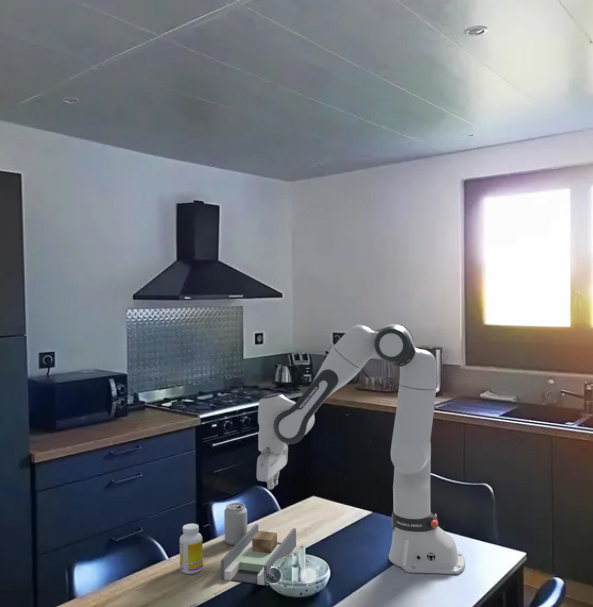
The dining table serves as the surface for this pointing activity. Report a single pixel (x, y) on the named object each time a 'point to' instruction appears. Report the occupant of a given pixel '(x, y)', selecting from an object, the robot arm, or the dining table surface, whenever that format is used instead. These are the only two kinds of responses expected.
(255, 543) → the walnut block
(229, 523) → the can
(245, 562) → the box
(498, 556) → the dining table surface
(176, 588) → the dining table surface
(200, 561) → the supplement bottle
